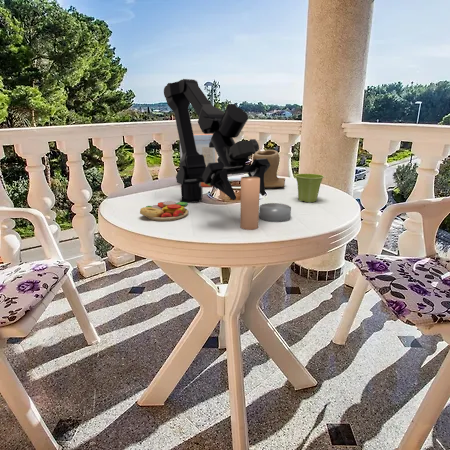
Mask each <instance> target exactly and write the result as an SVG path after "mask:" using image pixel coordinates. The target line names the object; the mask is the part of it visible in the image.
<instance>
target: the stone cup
mask: <svg viewBox="0 0 450 450" xmlns="http://www.w3.org/2000/svg"><path fill="white" fill-rule="evenodd" d="M252 155H253V156H252V162H253V161H254V159H263V158H265V159H268V161H269V163H270V165H271V166H270V167H269V168H268V169H267V171H266V172H265V173H264V186H265V189H267V188H268V189H270V188H271V189H273V188H284V187H285V184H286V178H285V177H278V171H279V165H280V155H279V152H278V151H277V150H275V149H265V150H262V151H261V150H258V151H257V152H256V153H255V154H252Z"/></svg>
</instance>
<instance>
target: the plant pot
mask: <svg viewBox="0 0 450 450" xmlns="http://www.w3.org/2000/svg"><path fill="white" fill-rule="evenodd" d="M294 176H295V179H296V182H297V184H296V185H297V194H298V195H297V196H298V197H297V198H298V201H300V202H303V201H304V202H305V203H315V202H317V201H318V196H319V192H320V188H321V184H322V182H323V178H324V177H325V176H324V175H323V174H319V173H318V174H317V173H297V174H295V175H294Z"/></svg>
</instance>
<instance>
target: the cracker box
mask: <svg viewBox="0 0 450 450" xmlns="http://www.w3.org/2000/svg"><path fill="white" fill-rule="evenodd" d="M193 135H194V140H195V145H196V150H197V152H198V153H199V154H200V155H201V154H203V156H204V160H205V164H206V167H207V165H208V163H215V162H216V150H215V148H209V143H210V141H211V138H212V136H213V134H204V133H193ZM179 157H180V158H179V161H180V160H181V158H182V149H181V144H180V143H179ZM201 186H202V188H207V187H209V188H210V187H212V186H210V184H205V183H204V182H201Z"/></svg>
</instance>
